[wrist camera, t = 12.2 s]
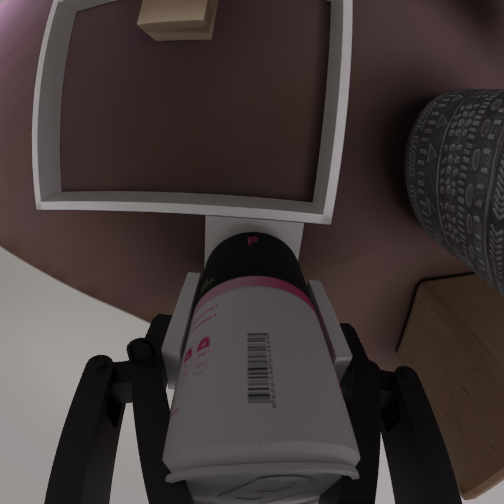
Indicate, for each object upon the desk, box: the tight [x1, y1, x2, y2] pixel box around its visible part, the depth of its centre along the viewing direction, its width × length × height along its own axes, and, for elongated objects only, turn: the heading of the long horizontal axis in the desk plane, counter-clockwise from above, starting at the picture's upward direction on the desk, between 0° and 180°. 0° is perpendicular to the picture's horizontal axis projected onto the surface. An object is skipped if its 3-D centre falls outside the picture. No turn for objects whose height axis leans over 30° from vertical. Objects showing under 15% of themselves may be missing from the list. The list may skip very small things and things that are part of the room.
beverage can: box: [162, 232, 360, 504], centre depth 13 cm, size 7×7×15 cm
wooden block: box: [398, 274, 504, 500], centre depth 16 cm, size 10×10×20 cm
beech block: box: [137, 0, 219, 41], centre depth 12 cm, size 4×4×4 cm
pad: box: [205, 215, 304, 266], centre depth 21 cm, size 7×7×1 cm
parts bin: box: [32, 0, 352, 225], centre depth 14 cm, size 17×21×3 cm
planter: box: [404, 89, 504, 298], centre depth 12 cm, size 12×12×13 cm
